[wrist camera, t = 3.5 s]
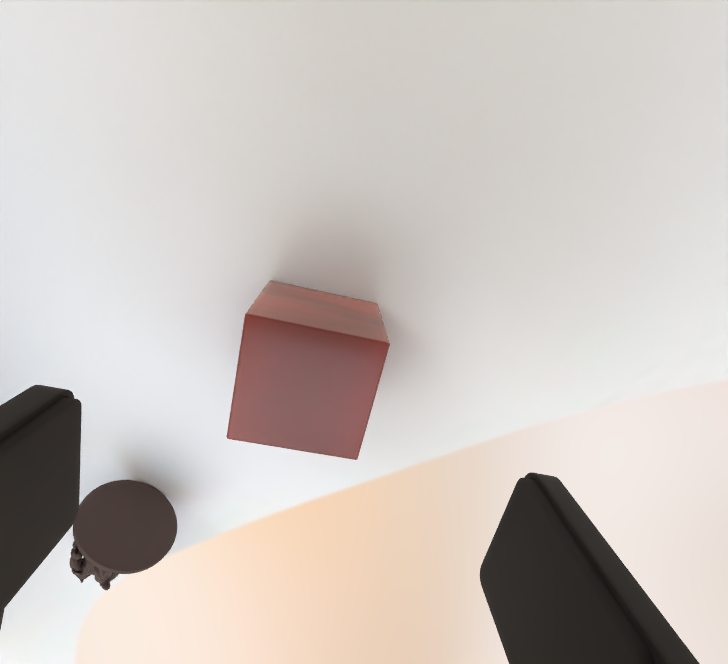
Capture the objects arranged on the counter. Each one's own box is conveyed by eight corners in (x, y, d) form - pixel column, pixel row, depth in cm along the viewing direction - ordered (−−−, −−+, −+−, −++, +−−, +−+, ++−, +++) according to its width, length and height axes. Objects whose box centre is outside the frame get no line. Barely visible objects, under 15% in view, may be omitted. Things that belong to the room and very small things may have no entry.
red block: (253, 378, 16) (225, 439, 12) (269, 279, 14) (245, 313, 11) (353, 397, 16) (357, 461, 12) (377, 303, 15) (390, 343, 11)
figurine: (33, 423, 16) (-9, 487, 17) (-16, 664, 10) (-74, 735, 11) (169, 443, 19) (128, 494, 20) (186, 628, 14) (129, 684, 15)
